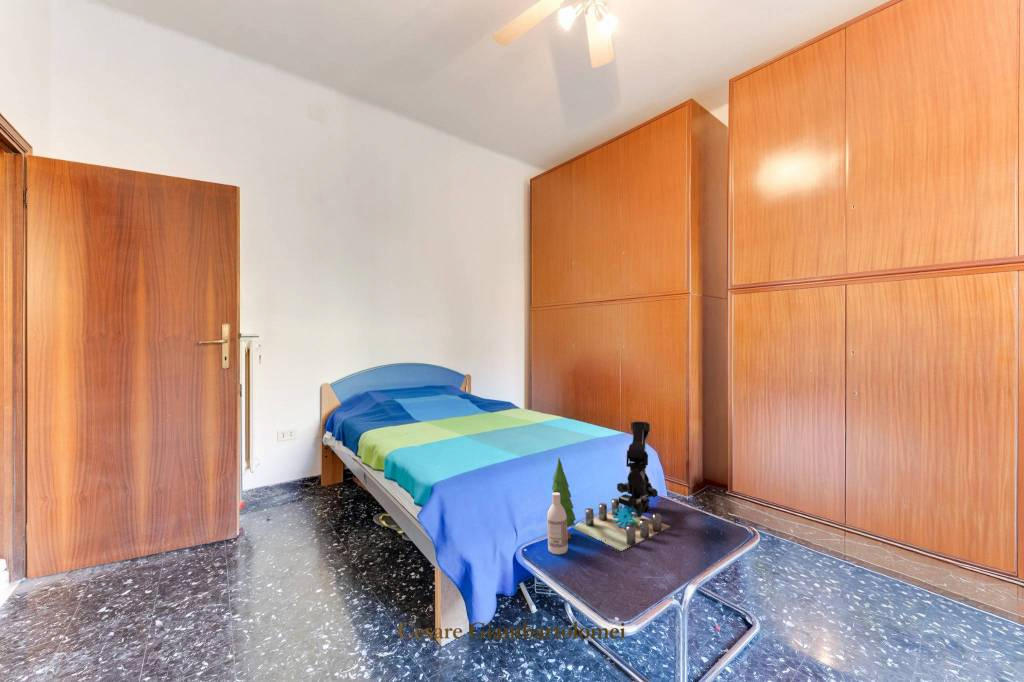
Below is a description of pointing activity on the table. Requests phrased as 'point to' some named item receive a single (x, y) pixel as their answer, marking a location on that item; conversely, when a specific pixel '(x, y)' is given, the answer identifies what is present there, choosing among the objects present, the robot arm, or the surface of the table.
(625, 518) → the gear
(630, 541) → the spacer posts
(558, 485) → the decorative tree
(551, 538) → the bath foam
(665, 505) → the table surface
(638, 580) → the table surface
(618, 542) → the board
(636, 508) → the robot arm
